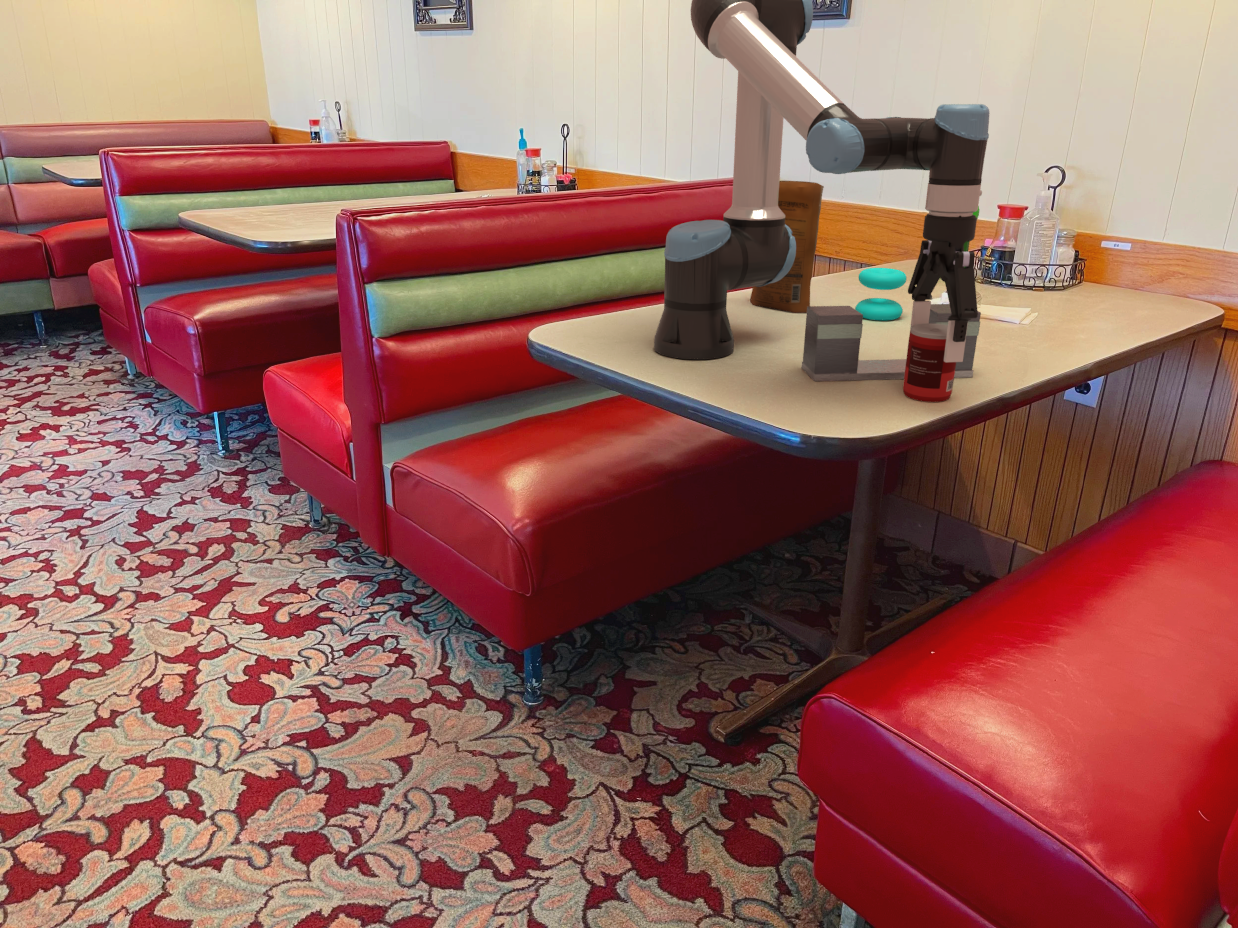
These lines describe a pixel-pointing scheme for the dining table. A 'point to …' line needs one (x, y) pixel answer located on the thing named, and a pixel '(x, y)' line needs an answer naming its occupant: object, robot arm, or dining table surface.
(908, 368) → the canned food
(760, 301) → the pancake mix bag
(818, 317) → the grey double block stand
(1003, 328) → the dining table surface
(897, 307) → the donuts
